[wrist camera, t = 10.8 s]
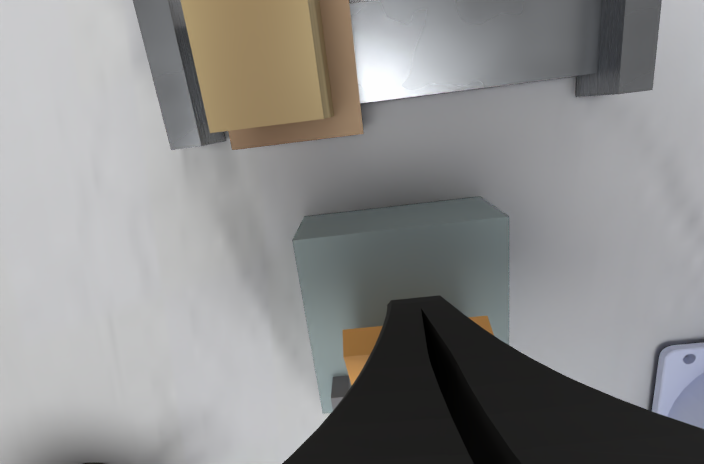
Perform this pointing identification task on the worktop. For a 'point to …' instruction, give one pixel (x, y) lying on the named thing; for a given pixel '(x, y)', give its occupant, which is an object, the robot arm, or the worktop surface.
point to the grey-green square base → (397, 272)
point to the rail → (437, 50)
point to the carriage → (275, 69)
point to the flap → (364, 340)
